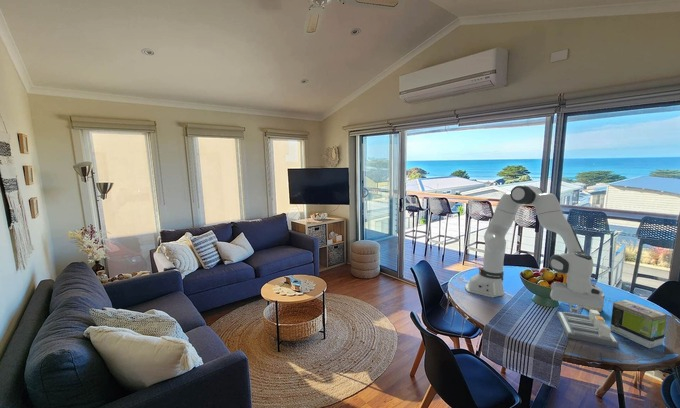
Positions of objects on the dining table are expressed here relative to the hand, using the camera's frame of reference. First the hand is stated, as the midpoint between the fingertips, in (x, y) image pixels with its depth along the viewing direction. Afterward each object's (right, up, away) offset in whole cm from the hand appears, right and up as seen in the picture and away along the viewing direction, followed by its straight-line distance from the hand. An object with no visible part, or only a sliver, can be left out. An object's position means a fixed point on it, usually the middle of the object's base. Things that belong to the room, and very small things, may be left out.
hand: (573, 311), depth 143 cm
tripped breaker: (+9, -6, -4) cm, 12 cm away
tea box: (+22, -9, -8) cm, 25 cm away
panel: (+4, -8, -1) cm, 9 cm away
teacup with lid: (+26, -5, +19) cm, 32 cm away
